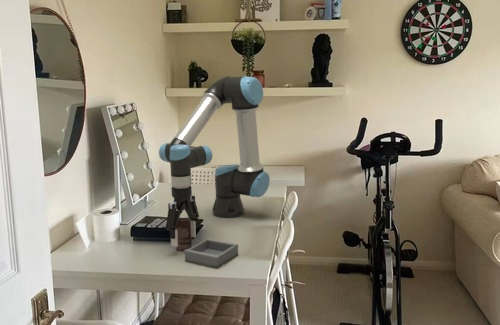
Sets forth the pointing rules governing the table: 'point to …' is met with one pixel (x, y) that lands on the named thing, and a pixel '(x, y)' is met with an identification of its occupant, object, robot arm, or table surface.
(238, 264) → the table surface
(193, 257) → the tray
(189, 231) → the box
